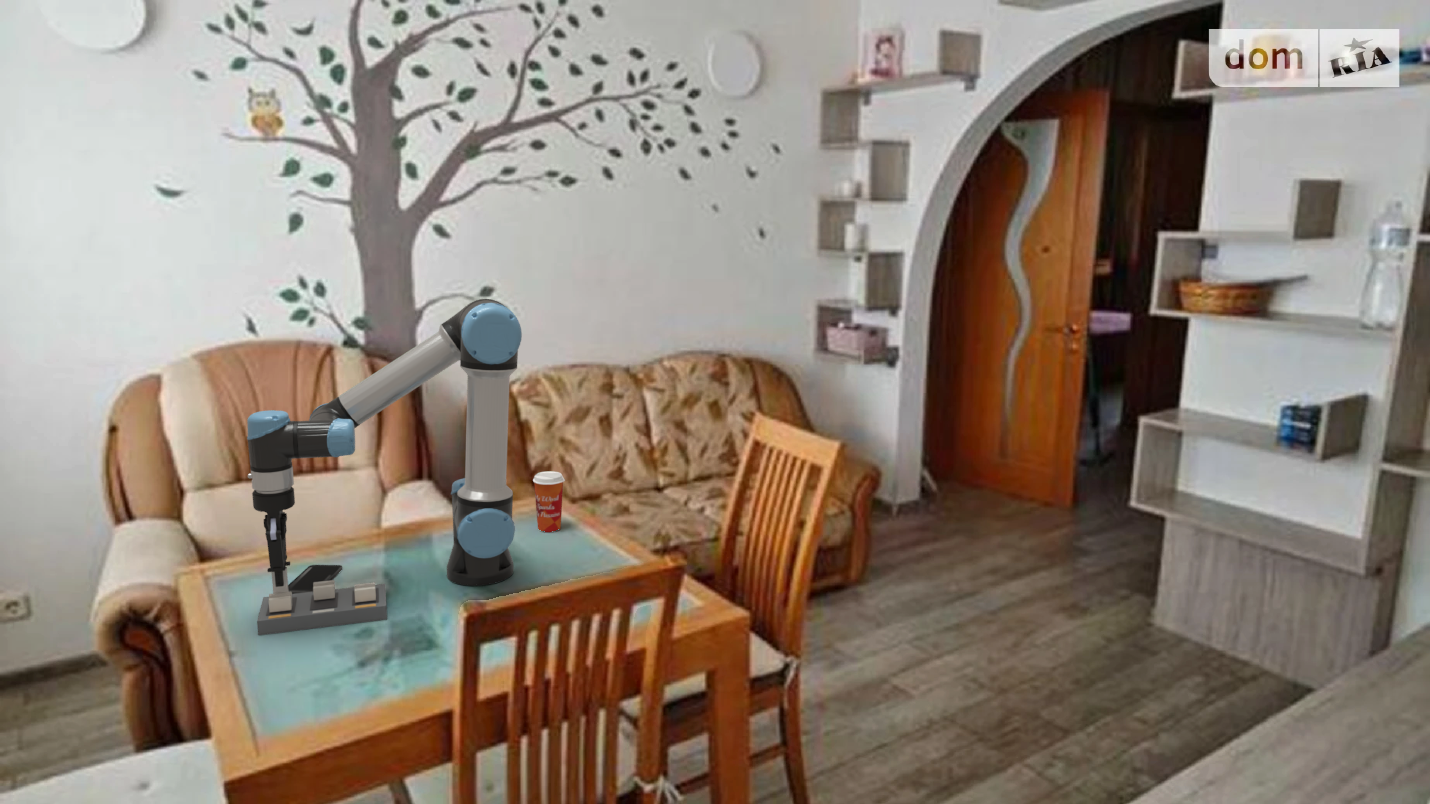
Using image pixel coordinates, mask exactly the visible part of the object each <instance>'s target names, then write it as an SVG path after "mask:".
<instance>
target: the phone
mask: <svg viewBox="0 0 1430 804" xmlns="http://www.w3.org/2000/svg"><path fill="white" fill-rule="evenodd" d="M341 570H342V571H343V565H341V564H311V565H309V566H307V567H306V568H305V569H304V570H303V571H302V572H301V573H299V574H298V575H297V577H295V578H294V579H293V580H292V581H291V582H290V583H288V590H289V592H292V594H296V593H305V592H313V582H321V581H331V580H334V579H335V578H336V577H337V576H338V575H339V574H340V573H341V572H342V571H341ZM340 571H341V572H340ZM339 572H340V573H339Z"/></svg>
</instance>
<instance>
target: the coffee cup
mask: <svg viewBox="0 0 1430 804" xmlns="http://www.w3.org/2000/svg"><path fill="white" fill-rule="evenodd" d="M532 481H533V484H534V496H535V507H536V508H535V512H536V521H537V530H538V529H539V530H541V531H545V532H544V533H553V532H552V531H556V530H558V529H560V530H561V528H562V527H561V526H562V512H563V510H562V509H563V495H564V494H563V492H564V491H563V490H564V482H566V479H565V478H564V476H563V474H562V473H561V472H559V471H553V470H552V471H550V470H549V471H541V472H538V473H536V474H535V475H534V477H533V479H532ZM539 530H538V531H539ZM541 531H540V532H541ZM558 531H559V530H558ZM556 532H557V531H556Z"/></svg>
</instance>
